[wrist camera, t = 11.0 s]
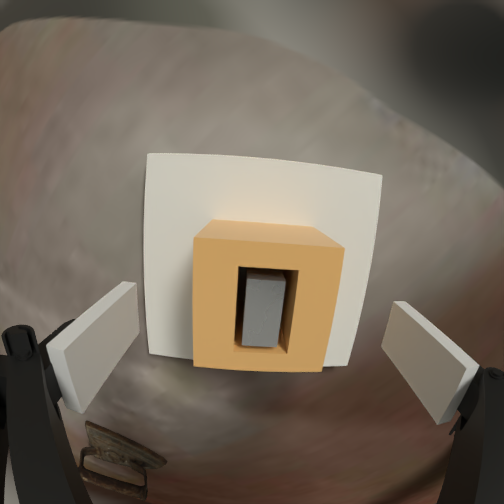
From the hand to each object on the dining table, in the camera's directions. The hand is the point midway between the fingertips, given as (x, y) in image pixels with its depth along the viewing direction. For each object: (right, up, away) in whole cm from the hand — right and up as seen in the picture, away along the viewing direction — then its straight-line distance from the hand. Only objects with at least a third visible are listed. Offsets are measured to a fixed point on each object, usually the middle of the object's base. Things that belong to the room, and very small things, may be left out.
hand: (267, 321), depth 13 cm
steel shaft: (0, +2, +7) cm, 7 cm away
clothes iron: (-17, -22, +14) cm, 31 cm away
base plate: (0, +2, +8) cm, 9 cm away
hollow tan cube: (0, +2, +7) cm, 7 cm away
